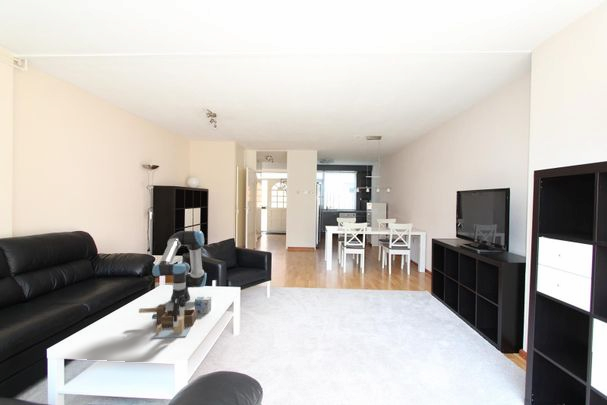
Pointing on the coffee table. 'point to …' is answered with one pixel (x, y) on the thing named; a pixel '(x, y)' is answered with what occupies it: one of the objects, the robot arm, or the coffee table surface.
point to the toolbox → (167, 319)
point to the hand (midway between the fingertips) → (178, 321)
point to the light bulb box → (203, 304)
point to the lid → (172, 330)
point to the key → (147, 310)
